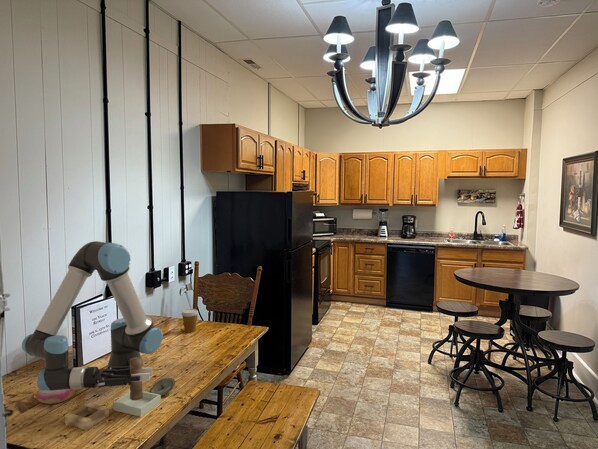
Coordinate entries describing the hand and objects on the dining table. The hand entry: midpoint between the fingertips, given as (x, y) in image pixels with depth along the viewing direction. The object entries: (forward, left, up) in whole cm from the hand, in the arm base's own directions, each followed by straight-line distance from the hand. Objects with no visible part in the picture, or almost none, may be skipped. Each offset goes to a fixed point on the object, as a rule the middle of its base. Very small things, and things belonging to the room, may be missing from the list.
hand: (150, 373), depth 158 cm
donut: (-39, -8, -13) cm, 42 cm away
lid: (-3, +11, -13) cm, 17 cm away
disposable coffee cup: (-37, +78, -13) cm, 87 cm away
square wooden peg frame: (-15, -16, -13) cm, 25 cm away
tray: (-5, -2, -13) cm, 14 cm away
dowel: (-5, -3, -9) cm, 10 cm away
